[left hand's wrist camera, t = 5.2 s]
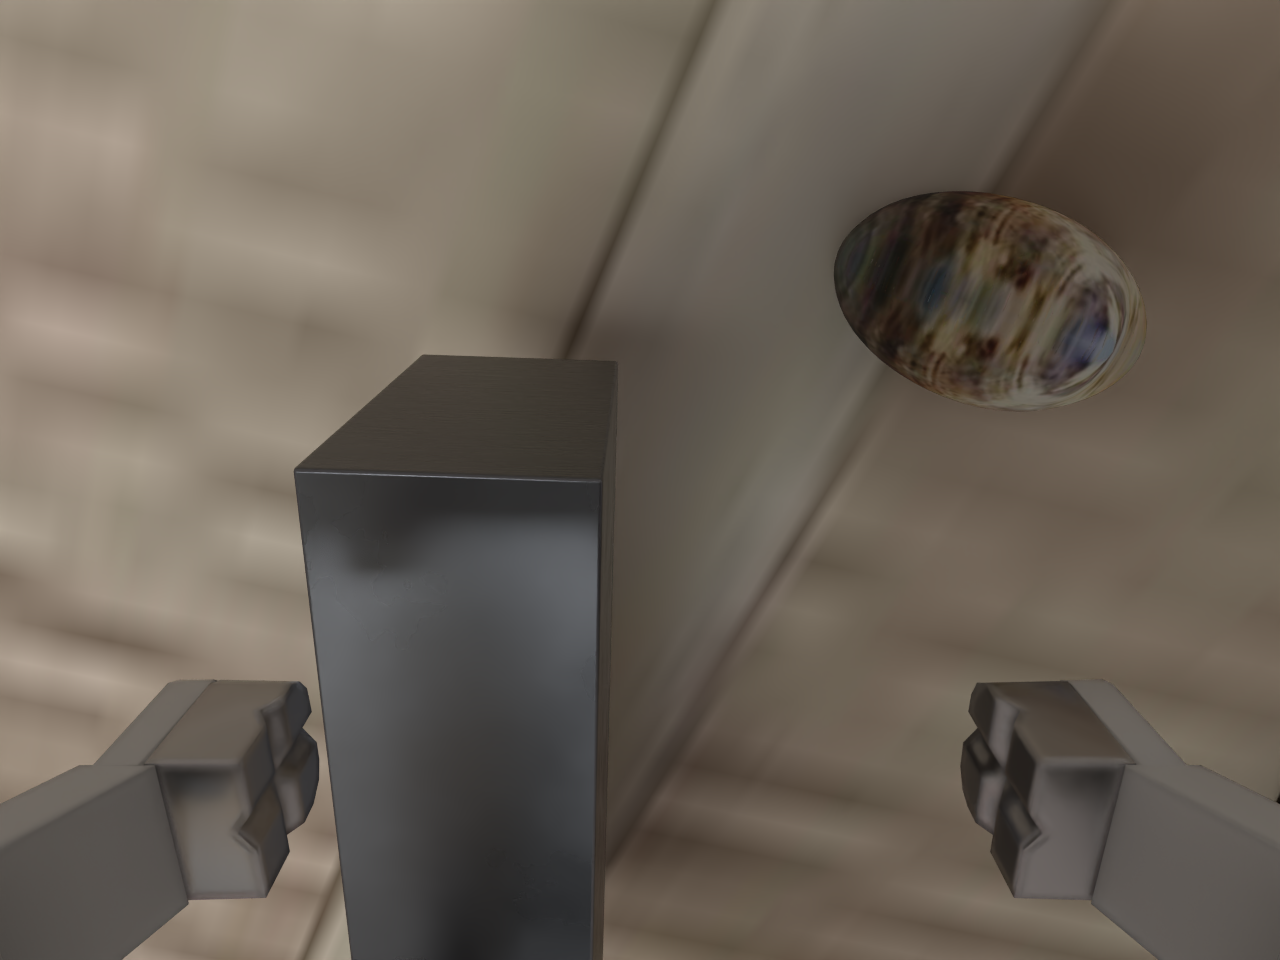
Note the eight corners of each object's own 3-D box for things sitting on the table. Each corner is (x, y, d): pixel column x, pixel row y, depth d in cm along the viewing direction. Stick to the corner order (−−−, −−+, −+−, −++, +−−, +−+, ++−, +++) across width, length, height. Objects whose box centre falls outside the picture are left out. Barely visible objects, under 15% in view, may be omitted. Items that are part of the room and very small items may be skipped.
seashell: (1116, 246, 27) (1294, 279, 20) (1033, 408, 29) (1167, 493, 22) (845, 147, 26) (926, 144, 19) (777, 322, 28) (827, 382, 21)
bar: (421, 354, 20) (291, 468, 13) (618, 360, 20) (602, 479, 13) (464, 1085, 29) (402, 1401, 22) (599, 1089, 29) (583, 1406, 22)
